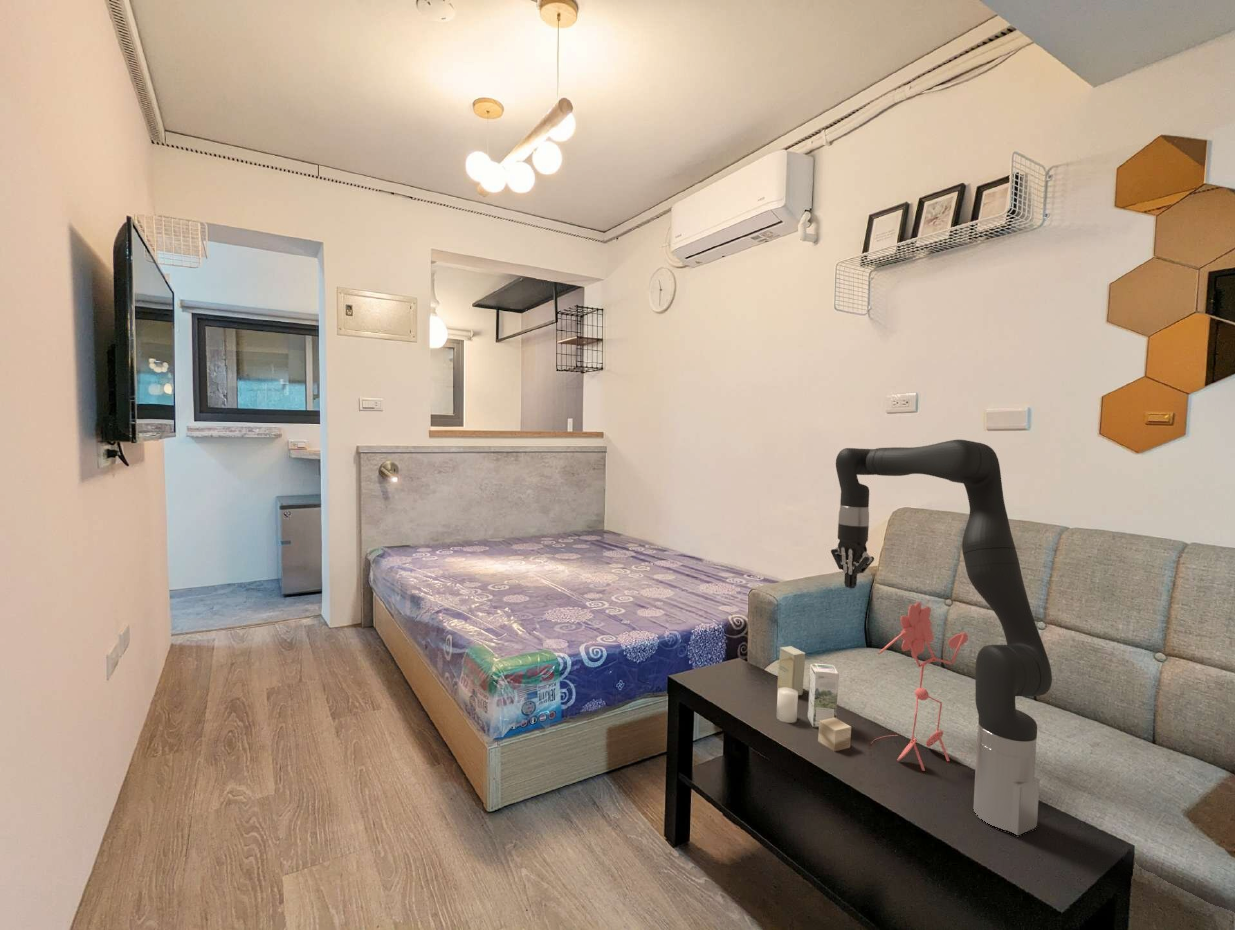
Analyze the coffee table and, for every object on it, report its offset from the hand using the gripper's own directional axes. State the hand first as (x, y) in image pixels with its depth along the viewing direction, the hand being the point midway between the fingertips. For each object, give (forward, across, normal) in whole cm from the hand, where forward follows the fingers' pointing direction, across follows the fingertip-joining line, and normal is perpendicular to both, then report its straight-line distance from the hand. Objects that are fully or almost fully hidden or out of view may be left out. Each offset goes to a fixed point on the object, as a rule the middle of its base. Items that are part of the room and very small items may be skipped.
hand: (850, 587), depth 154 cm
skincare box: (+33, +14, +6) cm, 37 cm away
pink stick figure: (+33, -22, +3) cm, 40 cm away
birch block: (+33, -13, +17) cm, 39 cm away
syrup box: (+33, -4, +12) cm, 36 cm away
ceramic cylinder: (+33, +2, +18) cm, 38 cm away
